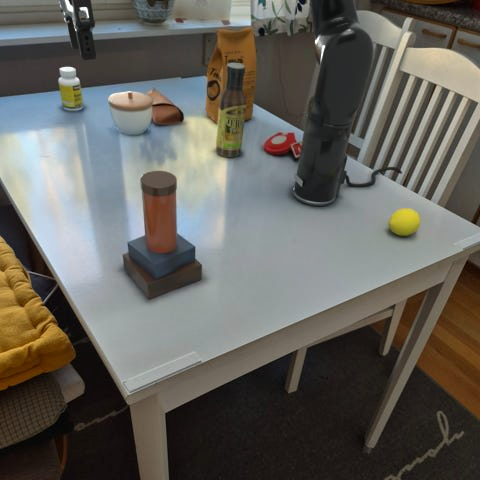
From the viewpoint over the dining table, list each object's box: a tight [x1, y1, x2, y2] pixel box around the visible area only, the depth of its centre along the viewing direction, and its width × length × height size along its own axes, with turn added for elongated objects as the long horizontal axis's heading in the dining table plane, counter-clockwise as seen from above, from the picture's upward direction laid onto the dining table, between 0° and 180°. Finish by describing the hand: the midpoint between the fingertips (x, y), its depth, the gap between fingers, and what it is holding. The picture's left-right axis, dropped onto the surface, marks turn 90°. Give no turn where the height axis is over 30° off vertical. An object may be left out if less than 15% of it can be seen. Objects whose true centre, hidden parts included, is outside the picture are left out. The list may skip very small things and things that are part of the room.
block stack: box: [122, 232, 203, 300], centre depth 78 cm, size 10×9×6 cm
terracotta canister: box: [139, 170, 178, 253], centre depth 72 cm, size 5×5×11 cm
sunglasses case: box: [145, 86, 185, 126], centre depth 130 cm, size 18×7×7 cm, turn 32°
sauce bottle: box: [215, 63, 246, 158], centre depth 109 cm, size 6×6×20 cm
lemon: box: [388, 207, 421, 236], centre depth 93 cm, size 7×5×5 cm
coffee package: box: [205, 26, 258, 124], centre depth 125 cm, size 10×12×22 cm
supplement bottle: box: [58, 66, 84, 112], centre depth 125 cm, size 5×5×10 cm
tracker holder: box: [263, 131, 302, 160], centre depth 118 cm, size 12×4×10 cm
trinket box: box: [107, 90, 153, 136], centre depth 118 cm, size 11×11×9 cm
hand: (83, 53), depth 75 cm, fingers open, 8 cm apart
